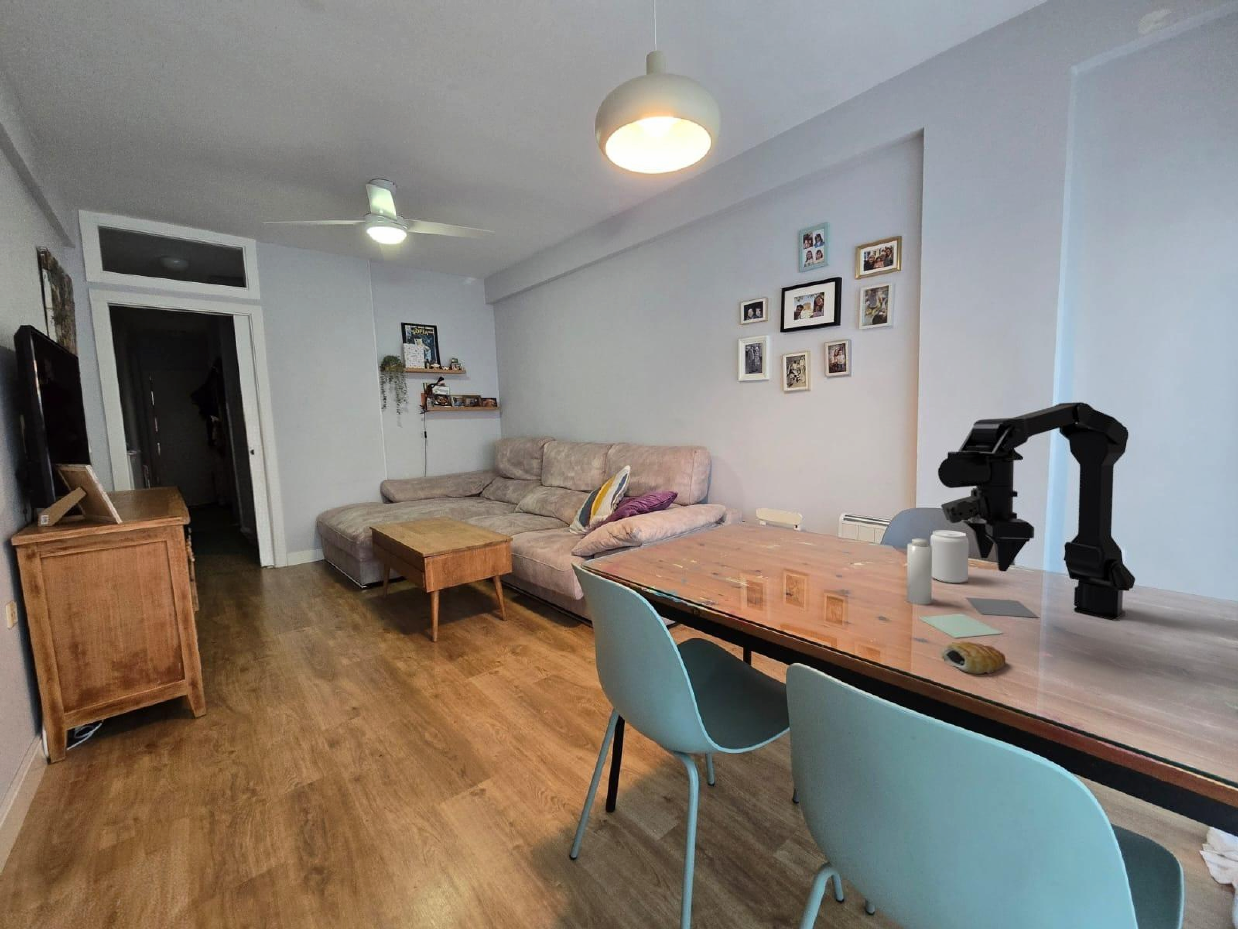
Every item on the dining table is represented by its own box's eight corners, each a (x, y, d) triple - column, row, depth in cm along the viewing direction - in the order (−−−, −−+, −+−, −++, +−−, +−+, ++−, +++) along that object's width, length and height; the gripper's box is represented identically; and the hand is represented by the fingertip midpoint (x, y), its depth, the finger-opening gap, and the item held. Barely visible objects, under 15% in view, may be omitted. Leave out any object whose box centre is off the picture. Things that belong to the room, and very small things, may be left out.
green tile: (961, 614, 107) (961, 613, 107) (1002, 633, 97) (1002, 632, 97) (918, 618, 106) (918, 617, 106) (955, 638, 96) (955, 637, 96)
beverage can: (923, 577, 132) (923, 532, 131) (943, 572, 135) (943, 528, 134) (954, 586, 125) (955, 538, 124) (975, 580, 128) (975, 534, 127)
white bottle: (935, 601, 115) (936, 540, 114) (924, 606, 113) (925, 543, 111) (914, 596, 119) (914, 536, 118) (902, 600, 117) (903, 539, 115)
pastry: (981, 653, 90) (982, 632, 90) (1018, 670, 84) (1019, 648, 84) (937, 660, 88) (937, 639, 88) (971, 679, 82) (972, 656, 82)
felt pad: (1017, 601, 113) (1017, 600, 113) (1038, 618, 104) (1038, 617, 104) (965, 598, 116) (965, 597, 116) (981, 614, 107) (981, 613, 107)
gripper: (933, 479, 109) (932, 550, 110) (961, 491, 91) (960, 576, 92) (994, 479, 105) (993, 552, 106) (1036, 491, 87) (1034, 579, 89)
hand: (992, 564), depth 99 cm, fingers open, 9 cm apart
